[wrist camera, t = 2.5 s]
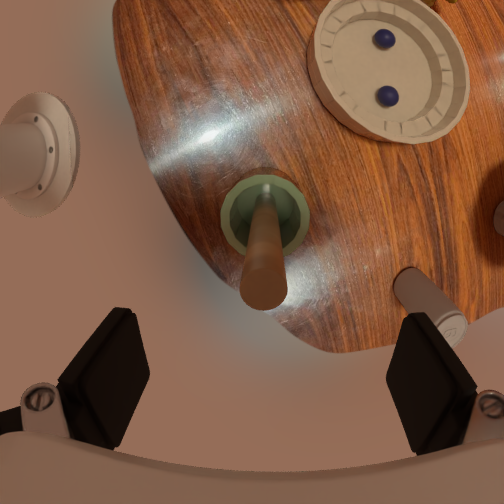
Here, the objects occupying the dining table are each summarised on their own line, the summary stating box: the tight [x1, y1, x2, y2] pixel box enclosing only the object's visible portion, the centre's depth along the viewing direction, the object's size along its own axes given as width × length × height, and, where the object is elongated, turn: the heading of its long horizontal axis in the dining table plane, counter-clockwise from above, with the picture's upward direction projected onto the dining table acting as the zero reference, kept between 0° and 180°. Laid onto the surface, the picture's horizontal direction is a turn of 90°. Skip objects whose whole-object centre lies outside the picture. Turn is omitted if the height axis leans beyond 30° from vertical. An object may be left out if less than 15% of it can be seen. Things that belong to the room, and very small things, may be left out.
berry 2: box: [377, 85, 399, 107], centre depth 26 cm, size 2×2×2 cm
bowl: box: [307, 0, 470, 144], centre depth 24 cm, size 17×17×6 cm
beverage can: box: [394, 268, 468, 348], centre depth 30 cm, size 5×5×12 cm
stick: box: [240, 193, 288, 311], centre depth 23 cm, size 2×2×20 cm
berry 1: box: [374, 29, 396, 48], centre depth 24 cm, size 2×2×2 cm
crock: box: [220, 167, 310, 257], centre depth 30 cm, size 8×8×8 cm
